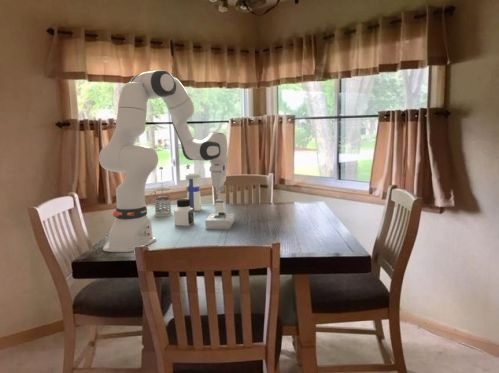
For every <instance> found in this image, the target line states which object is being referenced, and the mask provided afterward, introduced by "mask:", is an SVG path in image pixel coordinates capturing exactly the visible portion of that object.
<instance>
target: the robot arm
mask: <svg viewBox="0 0 499 373" xmlns="http://www.w3.org/2000/svg"><path fill="white" fill-rule="evenodd" d="M118 98H119V99H118V103H117V114H116V115H117V116H116V123H115V129H114V132H113V134H112V136H111V138H110V140H109V141H108V143H107V144H106V145H104V147H103V148H102V149H101V150H100V151H99V154H98V161H99V165H100V166H101V167H102V168H103V169H104V170H107V171H109V172H113V173H124V179H123V181H122V182H121V183H120V184H118V186H117V187H116V189H115V195H116V196H115V197H116V199H115V200H116V208H115V211H113V212H112V216H113V217H115V219H114V222H113V223H112V226H111V229H110V230H109V232H108V241H107V242H106V244H104V246H103V247H102V251H104V252H109V253H110V252H111V253H129V252H131V253H132V252H135V251H134V247H135V246H141V245H147V246H148V245H150V244H152V243H154V242H156V241H157V238H156V237H155V236H153V228H152V220H150V218H149V217H148V216H147V215H148V209H147V208H148V207H147V205H146V184H147V181H148V178H149V176H150V175H151V173H153V172H154V171H155V169H156V168H157V166H158V163H159V156H158V152H157V151H156V150H155V148H153V147H151V146H148V145H147V146H146V145H141V144H135V143H136V141H137V139H138V138H139V137H140V136H142V135H143V134H144V132H145V130H146V122H147V110H148V108H147V107H148V101H149V100H157V99H162V100H163V103H164V105H165V106H166V108H167V111H168V112H169V115H170V117H171V118H170V119H171V123H172V126H173V128H174V131H175V132H176V135H177V137H178V139H179V142H180V145H181V151H182V154H183V156H184V157H185V159H186V160H188V161H205V162H207V161H209V172H210V176H211V178H210V180H211V185H212V188H215V196H220V195H221V193H222V192H224V186H225V182H226V181H227V173H226V172H227V171H226V170H228V169H229V160H228V159H229V158H228V139H227V136H226V134H224V133H222V132H215V131H213V132H210V133H209V135H208V136H207V137H205V138H204V139H201V140H200V139H196V138H194V136H193V135H192V133H191V131H190V127H189V126H188V120H190V119H191V117H192V116H193V114H194V112H195V107H194V103H193V100H192V98H191V96H190V94H189V93H188V91H187V90H186V88H185V87H184V85H183V84H182V83H181V81H180V80H179V79H178V78H177V77H174V76H173V75H172V74H171V73H170V72H169V71H168V70H164V69H163V70H162V69H158V70H152V71H145V72H142V73H139V74H136V75H134V76H133V77H132V78H131V79H130V81H129V82H126V83H125V84H124V85H123V86H122V88H121V91H120V94H119V97H118Z"/></svg>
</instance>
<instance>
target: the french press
mask: <svg viewBox="0 0 499 373" xmlns="http://www.w3.org/2000/svg"><path fill="white" fill-rule="evenodd" d="M163 169H164V167H163V166H159V170H160V172H161V174H160V176H161V178H160V179H163V177H162V176H163V175H162V170H163ZM169 190H171V187H169V186H167V185H163V184H161V185H158V186H156V187H155V188H154V191H152V192H151V193H150V194H149V197H148V198H149V202H150V204H151V205H152V206H154V209H155V210H154V211H155V213H154V214H153V216H154V217H158V218H159V217H161V218H162V217H163V218H164V217H169V216H174V212H172V206H171V197H170V195H169V194H163V193H164V192H163V191H169ZM156 191H157V192H158V191H159V192H160V191H161V194H160V195H156V194H157V193H156ZM153 193H154V195H155V202H152V201H153V200H152V198H151V197H152V195H153Z"/></svg>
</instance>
